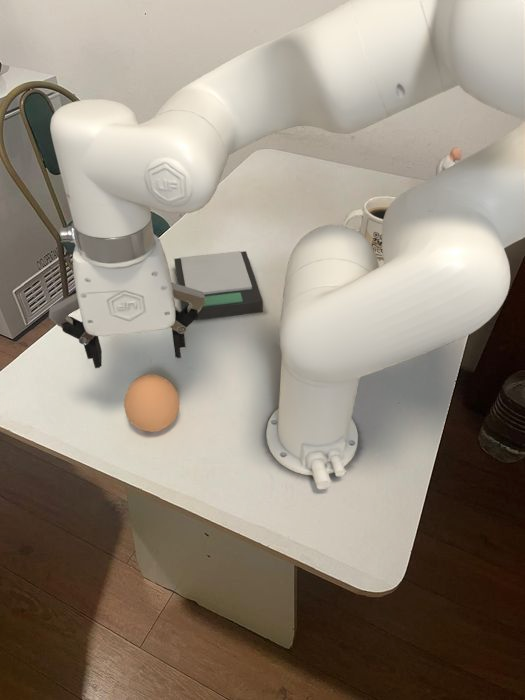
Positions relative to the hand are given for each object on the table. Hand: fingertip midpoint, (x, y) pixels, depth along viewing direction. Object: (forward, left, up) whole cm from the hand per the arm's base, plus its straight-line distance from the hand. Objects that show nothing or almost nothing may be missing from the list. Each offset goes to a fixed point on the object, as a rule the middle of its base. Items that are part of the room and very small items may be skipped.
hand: (138, 355), depth 64 cm
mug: (+34, -46, -13) cm, 59 cm away
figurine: (+41, -63, -13) cm, 76 cm away
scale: (+29, -13, -13) cm, 34 cm away
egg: (0, 0, -13) cm, 13 cm away
